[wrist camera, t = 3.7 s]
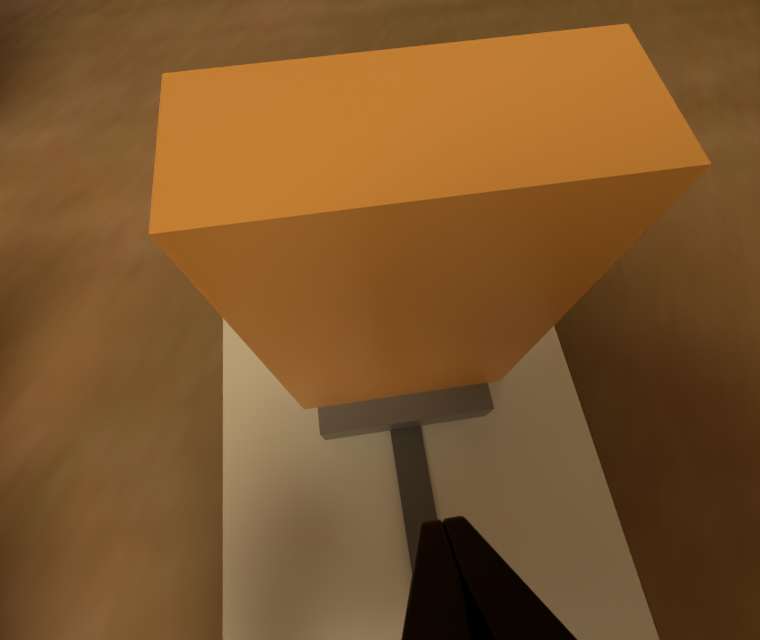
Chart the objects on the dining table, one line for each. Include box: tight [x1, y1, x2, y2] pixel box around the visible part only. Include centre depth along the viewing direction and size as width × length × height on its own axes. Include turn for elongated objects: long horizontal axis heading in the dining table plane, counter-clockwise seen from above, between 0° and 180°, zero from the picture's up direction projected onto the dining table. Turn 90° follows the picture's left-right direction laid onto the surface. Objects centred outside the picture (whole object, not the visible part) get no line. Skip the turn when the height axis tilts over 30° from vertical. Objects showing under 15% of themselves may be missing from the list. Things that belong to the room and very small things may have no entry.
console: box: [223, 319, 659, 640], centre depth 15 cm, size 20×12×2 cm, turn 8°
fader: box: [149, 24, 711, 440], centre depth 10 cm, size 4×6×10 cm, turn 98°
